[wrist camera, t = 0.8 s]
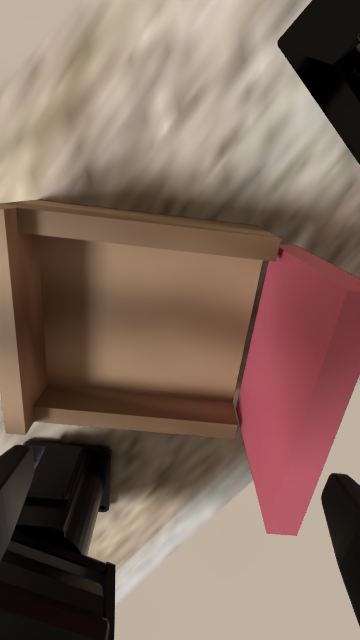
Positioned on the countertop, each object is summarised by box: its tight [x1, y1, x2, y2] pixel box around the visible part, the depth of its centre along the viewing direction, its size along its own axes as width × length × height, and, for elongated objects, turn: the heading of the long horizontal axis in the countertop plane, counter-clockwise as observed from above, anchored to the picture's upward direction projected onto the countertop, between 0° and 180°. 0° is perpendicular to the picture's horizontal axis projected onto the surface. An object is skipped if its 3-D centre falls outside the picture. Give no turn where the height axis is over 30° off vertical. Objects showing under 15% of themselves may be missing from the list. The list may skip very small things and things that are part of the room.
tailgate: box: [236, 244, 360, 536], centre depth 14 cm, size 10×2×8 cm, turn 174°
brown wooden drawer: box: [0, 200, 281, 439], centre depth 17 cm, size 11×12×6 cm
